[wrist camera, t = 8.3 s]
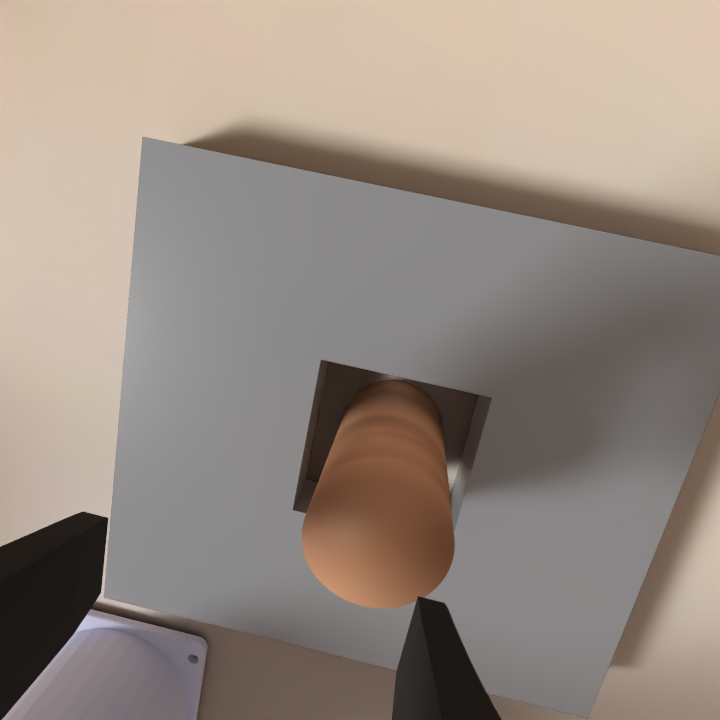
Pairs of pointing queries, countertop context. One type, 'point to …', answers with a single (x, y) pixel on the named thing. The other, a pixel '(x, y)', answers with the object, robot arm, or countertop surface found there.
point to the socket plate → (416, 362)
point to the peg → (383, 501)
